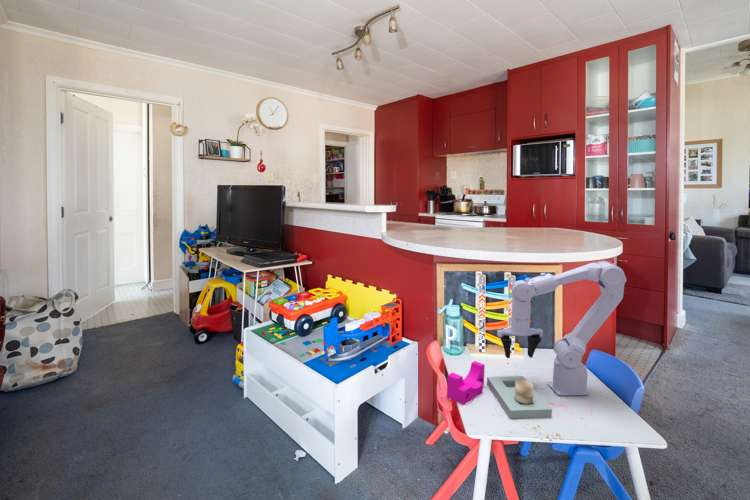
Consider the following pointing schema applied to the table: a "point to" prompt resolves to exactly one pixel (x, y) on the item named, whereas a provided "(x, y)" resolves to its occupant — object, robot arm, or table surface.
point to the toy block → (466, 384)
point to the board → (506, 397)
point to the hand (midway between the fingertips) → (518, 356)
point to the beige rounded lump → (524, 392)
